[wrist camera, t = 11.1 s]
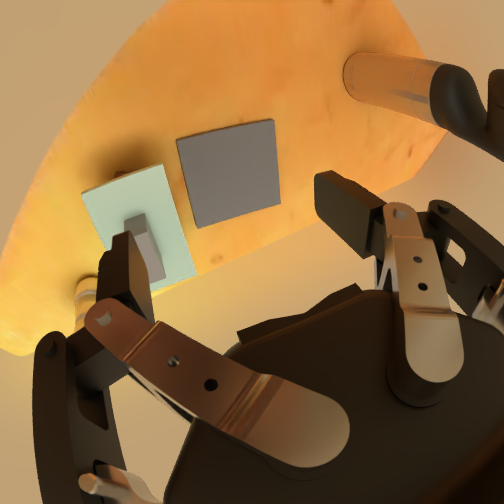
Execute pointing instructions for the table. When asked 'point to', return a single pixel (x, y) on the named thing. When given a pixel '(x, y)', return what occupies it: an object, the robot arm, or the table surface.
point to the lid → (143, 222)
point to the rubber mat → (230, 171)
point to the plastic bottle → (84, 300)
